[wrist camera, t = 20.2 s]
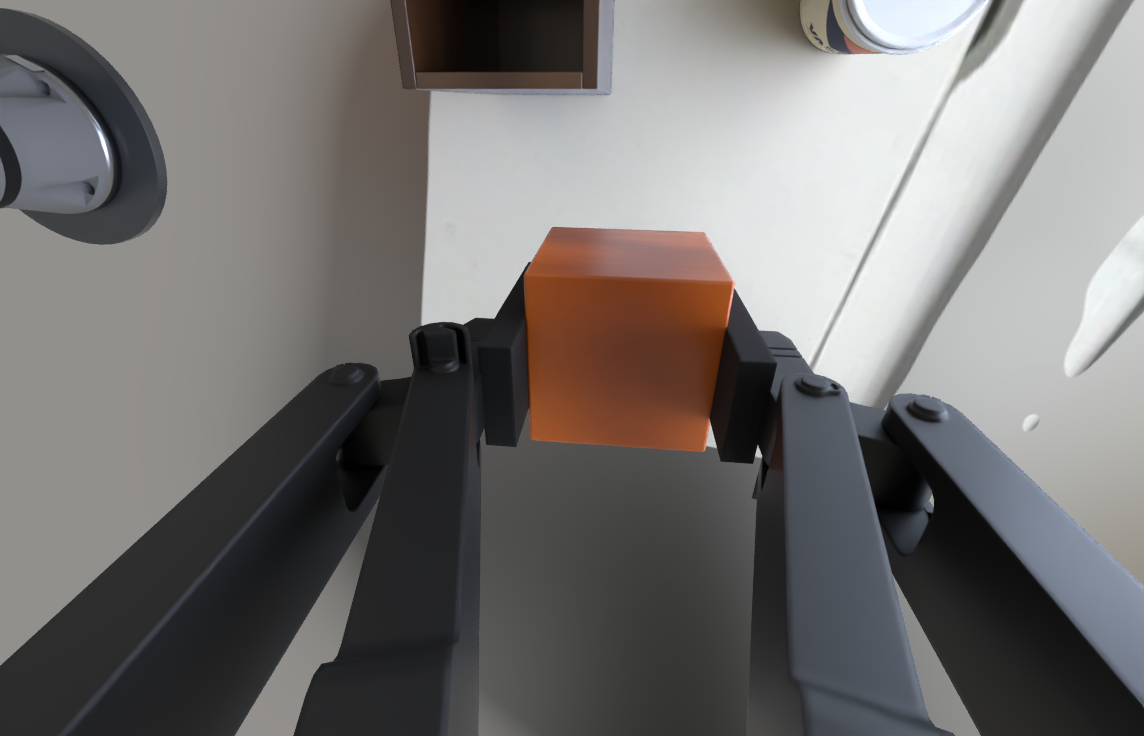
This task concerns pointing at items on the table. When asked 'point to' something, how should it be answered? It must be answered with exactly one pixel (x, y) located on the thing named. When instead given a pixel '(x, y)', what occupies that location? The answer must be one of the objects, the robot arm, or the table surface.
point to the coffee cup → (884, 24)
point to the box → (506, 46)
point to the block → (625, 337)
